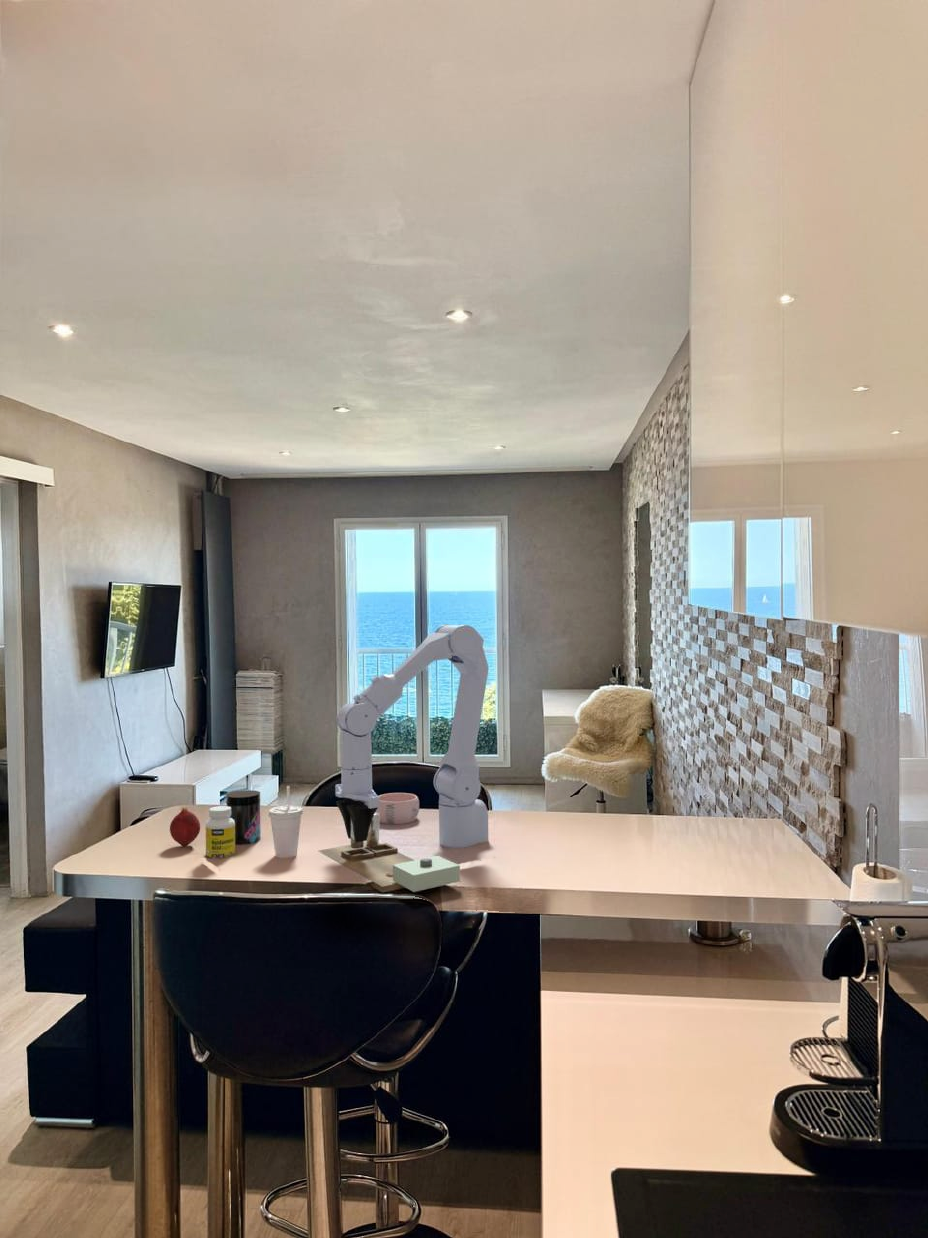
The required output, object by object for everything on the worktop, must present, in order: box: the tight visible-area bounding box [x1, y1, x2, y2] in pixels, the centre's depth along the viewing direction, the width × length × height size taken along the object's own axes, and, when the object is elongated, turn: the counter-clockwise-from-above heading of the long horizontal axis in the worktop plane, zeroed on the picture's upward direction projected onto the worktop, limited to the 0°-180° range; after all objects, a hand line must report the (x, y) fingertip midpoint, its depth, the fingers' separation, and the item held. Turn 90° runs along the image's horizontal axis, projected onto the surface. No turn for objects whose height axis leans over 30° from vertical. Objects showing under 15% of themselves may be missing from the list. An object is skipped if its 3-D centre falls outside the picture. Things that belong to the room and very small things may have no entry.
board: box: [318, 841, 415, 893], centre depth 154 cm, size 12×26×2 cm, turn 34°
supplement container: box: [225, 789, 262, 846], centre depth 170 cm, size 7×7×10 cm
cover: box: [393, 855, 461, 893], centre depth 142 cm, size 9×7×4 cm
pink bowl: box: [375, 792, 420, 825], centre depth 187 cm, size 12×10×6 cm
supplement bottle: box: [205, 805, 236, 863], centre depth 160 cm, size 5×5×10 cm
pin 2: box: [365, 813, 381, 846], centre depth 165 cm, size 2×2×6 cm
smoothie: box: [268, 785, 304, 859], centre depth 159 cm, size 6×6×14 cm
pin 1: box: [350, 819, 365, 848], centre depth 158 cm, size 2×2×6 cm
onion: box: [169, 806, 201, 848], centre depth 169 cm, size 6×6×8 cm
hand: (357, 839), depth 158 cm, fingers closed on pin 1, 2 cm apart
